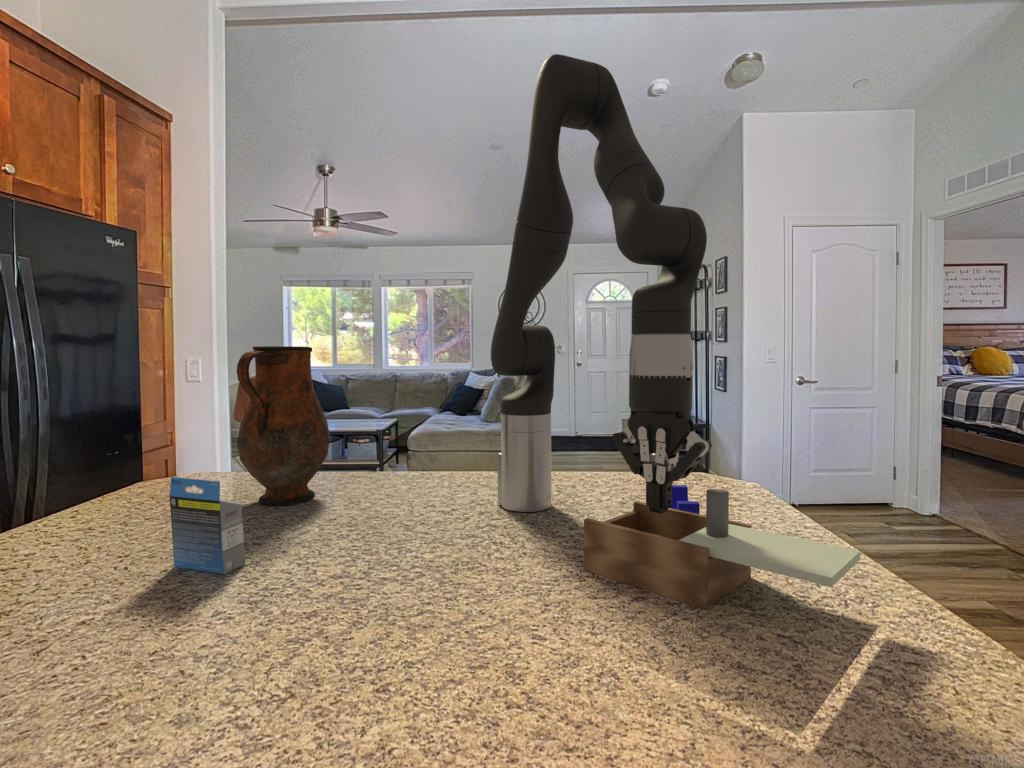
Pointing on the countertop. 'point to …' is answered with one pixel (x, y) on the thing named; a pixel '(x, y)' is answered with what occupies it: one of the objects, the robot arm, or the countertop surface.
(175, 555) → the label tape box
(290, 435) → the pitcher
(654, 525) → the walnut box
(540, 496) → the robot arm
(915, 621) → the countertop surface
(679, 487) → the blue curved stepped block
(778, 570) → the cover plate
